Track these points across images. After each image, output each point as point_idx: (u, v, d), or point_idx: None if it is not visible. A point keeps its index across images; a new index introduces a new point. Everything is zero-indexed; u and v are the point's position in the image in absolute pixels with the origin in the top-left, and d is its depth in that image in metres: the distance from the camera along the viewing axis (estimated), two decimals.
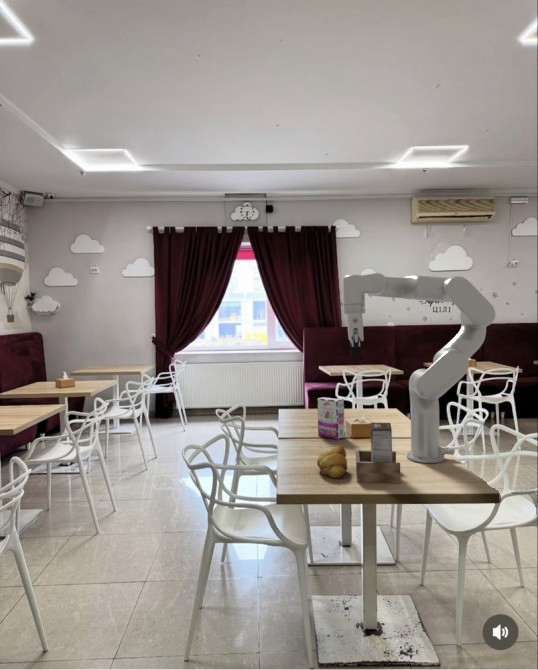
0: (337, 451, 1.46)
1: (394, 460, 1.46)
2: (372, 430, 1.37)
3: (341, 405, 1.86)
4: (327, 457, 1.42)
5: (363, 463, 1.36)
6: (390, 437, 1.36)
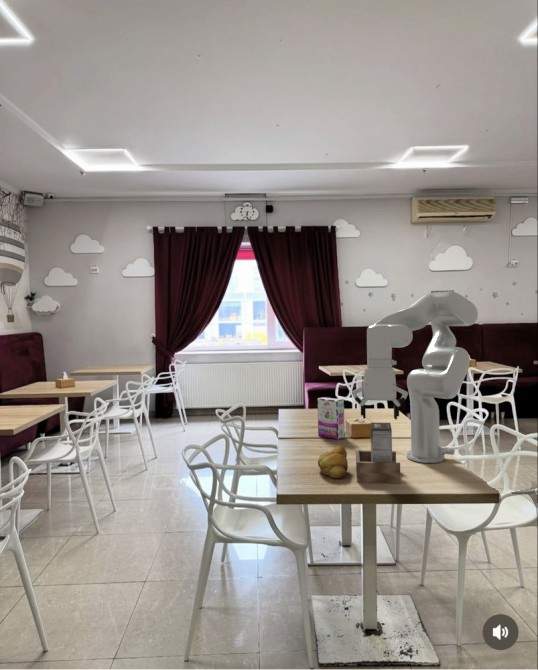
0: (338, 451, 1.46)
1: (394, 460, 1.46)
2: (372, 430, 1.37)
3: (341, 405, 1.86)
4: (327, 457, 1.42)
5: (363, 463, 1.36)
6: (390, 437, 1.36)
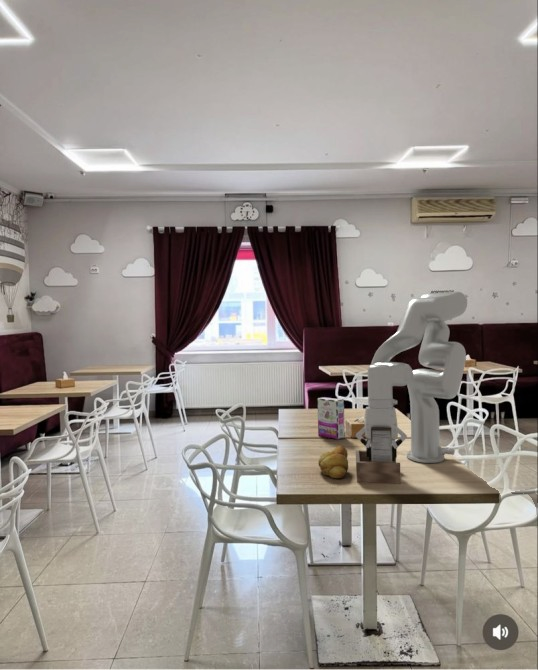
0: (338, 451, 1.45)
1: None
2: (372, 430, 1.37)
3: (341, 405, 1.86)
4: (328, 457, 1.41)
5: (363, 463, 1.36)
6: (390, 437, 1.36)
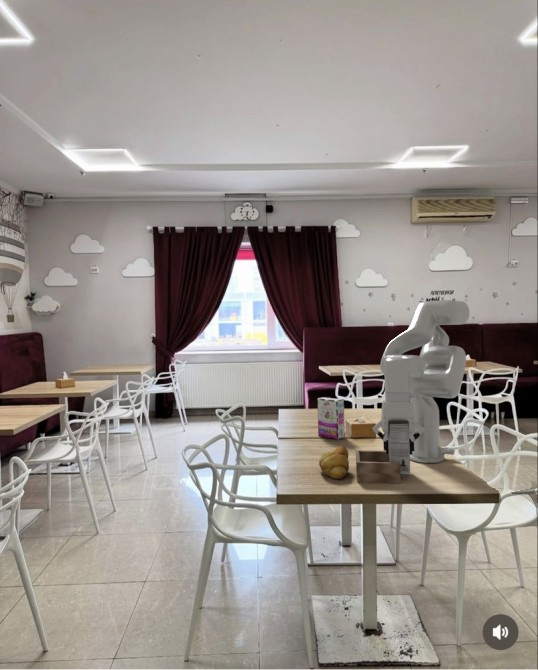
0: (339, 452, 1.45)
1: None
2: (389, 423, 1.36)
3: (341, 405, 1.86)
4: (328, 458, 1.41)
5: (363, 463, 1.36)
6: (408, 430, 1.35)
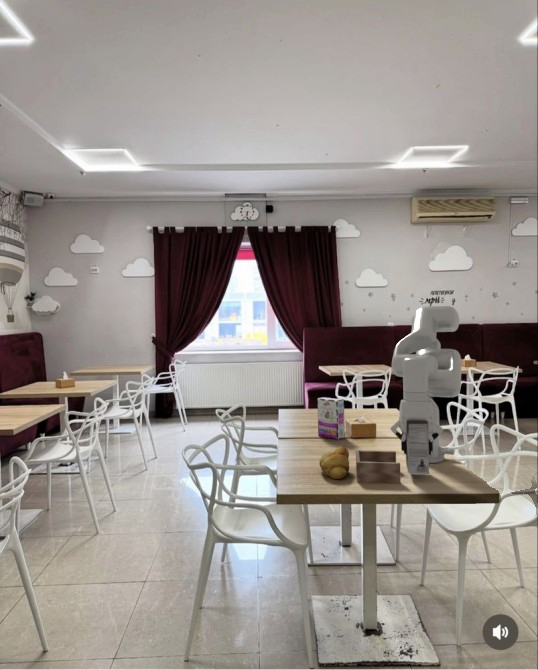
0: (339, 452, 1.45)
1: (394, 460, 1.46)
2: (408, 423, 1.35)
3: (341, 405, 1.86)
4: (328, 458, 1.41)
5: (363, 463, 1.36)
6: (427, 430, 1.34)
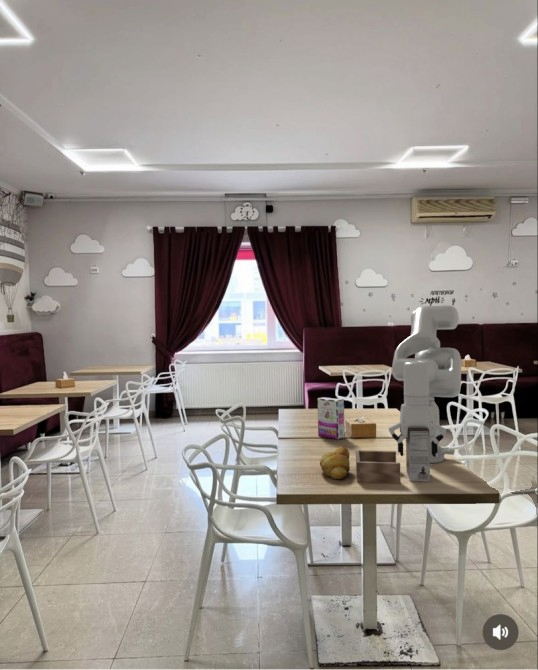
0: (340, 452, 1.45)
1: (394, 460, 1.46)
2: (409, 430, 1.35)
3: (341, 405, 1.86)
4: (329, 458, 1.41)
5: (363, 463, 1.36)
6: (428, 437, 1.34)
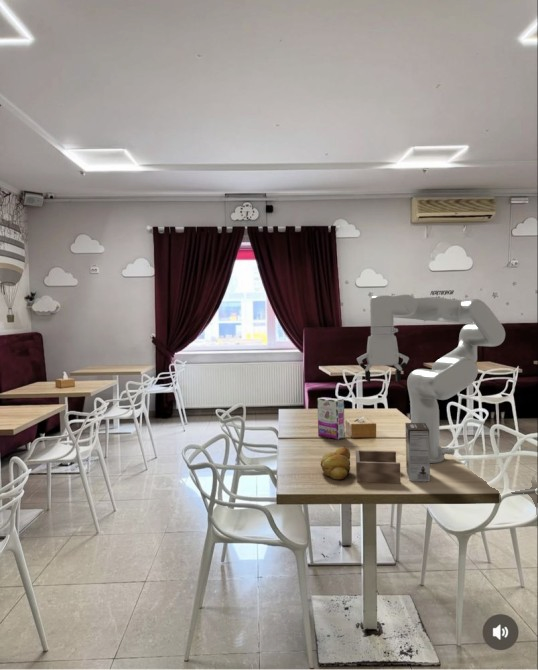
0: (341, 452, 1.44)
1: (394, 460, 1.46)
2: (409, 430, 1.35)
3: (341, 405, 1.86)
4: (329, 458, 1.41)
5: (363, 463, 1.36)
6: (428, 437, 1.34)
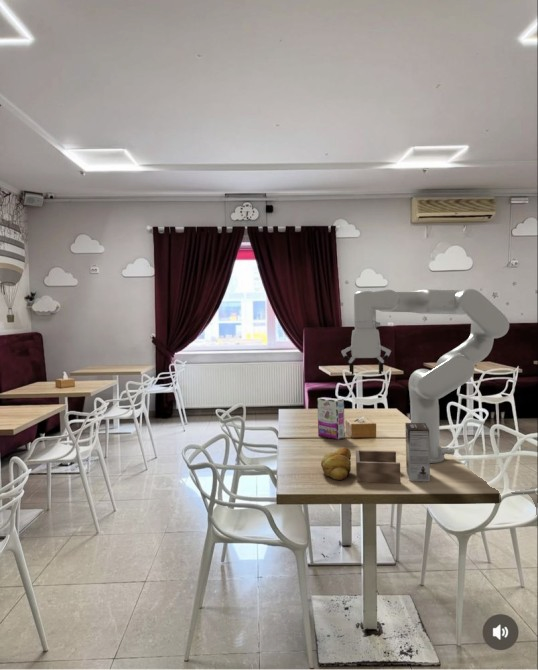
0: (341, 453, 1.44)
1: (394, 460, 1.46)
2: (409, 430, 1.35)
3: (341, 405, 1.86)
4: (330, 458, 1.40)
5: (363, 463, 1.36)
6: (428, 437, 1.34)
